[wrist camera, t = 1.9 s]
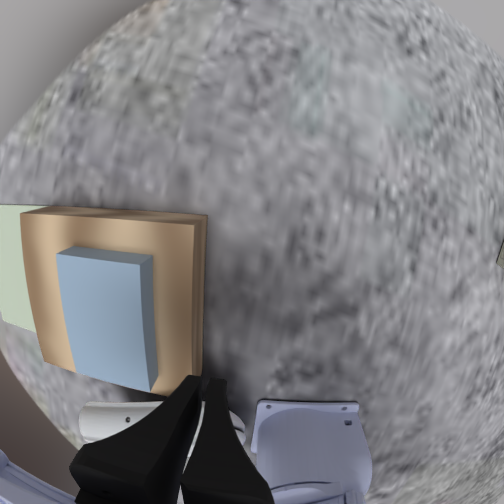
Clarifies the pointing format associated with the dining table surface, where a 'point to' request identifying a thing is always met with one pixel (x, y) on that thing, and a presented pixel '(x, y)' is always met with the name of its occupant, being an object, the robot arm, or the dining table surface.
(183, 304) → the light brown flat block
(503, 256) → the skincare box
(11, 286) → the mat
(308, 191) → the dining table surface
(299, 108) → the dining table surface
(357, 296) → the dining table surface
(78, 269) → the blue box
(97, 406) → the photo printer
